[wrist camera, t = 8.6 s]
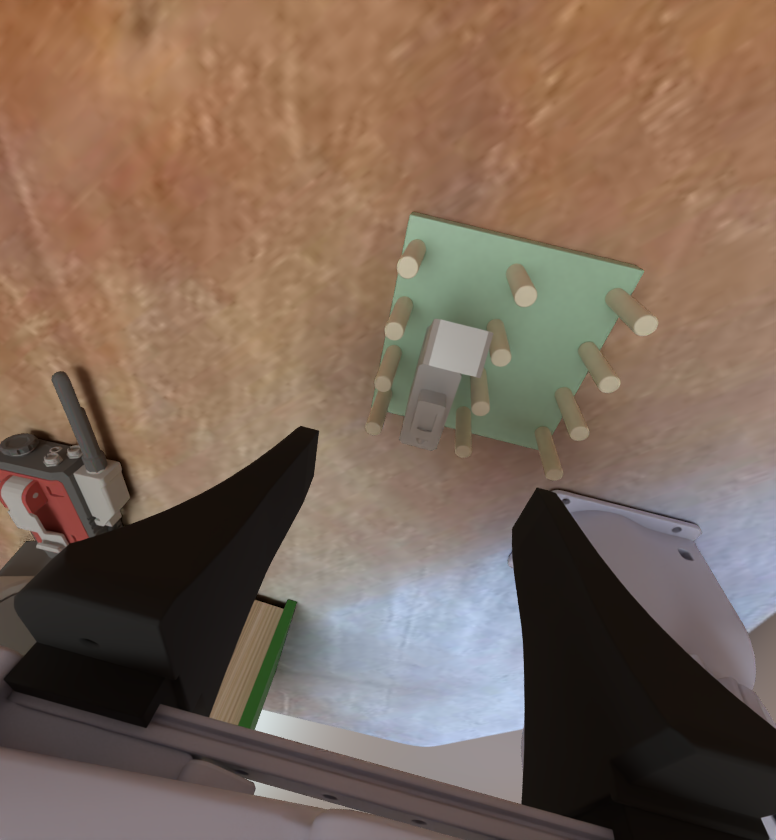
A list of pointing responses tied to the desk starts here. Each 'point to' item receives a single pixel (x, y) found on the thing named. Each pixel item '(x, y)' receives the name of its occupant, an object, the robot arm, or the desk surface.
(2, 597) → the alarm clock
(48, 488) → the walkie-talkie
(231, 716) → the hardback book
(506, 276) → the dish rack
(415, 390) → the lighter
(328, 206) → the desk surface
